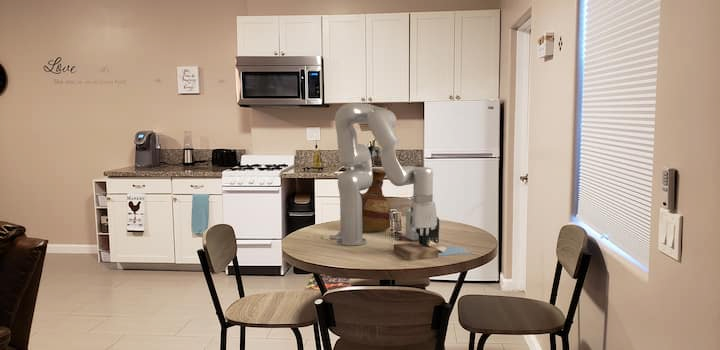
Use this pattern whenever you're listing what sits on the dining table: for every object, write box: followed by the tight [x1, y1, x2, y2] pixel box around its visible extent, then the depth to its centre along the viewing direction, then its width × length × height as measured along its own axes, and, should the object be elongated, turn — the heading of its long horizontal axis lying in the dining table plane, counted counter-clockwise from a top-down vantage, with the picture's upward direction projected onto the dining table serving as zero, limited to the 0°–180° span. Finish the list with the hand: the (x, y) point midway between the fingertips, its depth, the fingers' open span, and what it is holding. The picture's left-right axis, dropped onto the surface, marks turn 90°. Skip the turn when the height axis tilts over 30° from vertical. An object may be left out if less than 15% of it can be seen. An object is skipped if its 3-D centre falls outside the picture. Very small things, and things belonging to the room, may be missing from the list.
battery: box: [427, 216, 440, 244], centre depth 238 cm, size 7×4×11 cm, turn 87°
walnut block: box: [393, 241, 439, 262], centre depth 217 cm, size 12×15×3 cm
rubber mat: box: [438, 245, 472, 257], centre depth 223 cm, size 16×12×1 cm
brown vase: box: [359, 168, 392, 233], centre depth 263 cm, size 20×20×30 cm
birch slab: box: [426, 240, 446, 252], centre depth 221 cm, size 8×6×2 cm
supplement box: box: [405, 209, 423, 241], centre depth 246 cm, size 7×7×13 cm
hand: (422, 244), depth 218 cm, fingers closed
